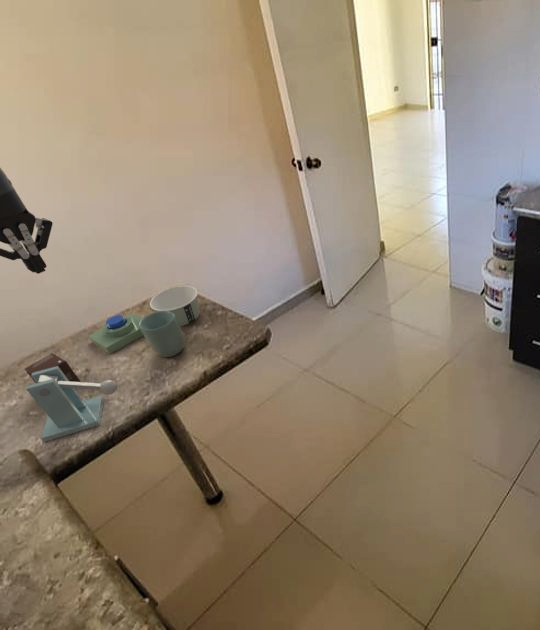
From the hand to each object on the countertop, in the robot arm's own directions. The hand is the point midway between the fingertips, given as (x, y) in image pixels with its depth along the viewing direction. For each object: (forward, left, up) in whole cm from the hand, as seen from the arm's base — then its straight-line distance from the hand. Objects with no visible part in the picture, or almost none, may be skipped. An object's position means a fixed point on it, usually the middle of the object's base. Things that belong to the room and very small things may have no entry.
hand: (39, 271), depth 90 cm
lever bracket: (-3, -17, -27) cm, 32 cm away
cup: (+16, -2, -27) cm, 32 cm away
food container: (+18, +13, -27) cm, 35 cm away
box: (-8, -4, -27) cm, 29 cm away
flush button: (+4, +11, -23) cm, 26 cm away
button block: (+4, +11, -27) cm, 29 cm away
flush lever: (+1, -17, -20) cm, 26 cm away
